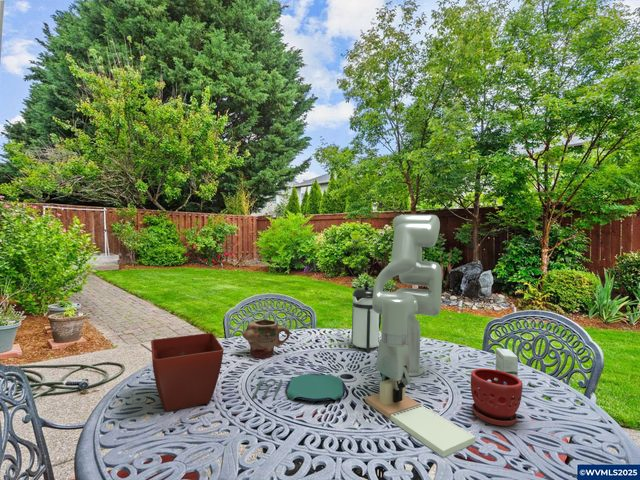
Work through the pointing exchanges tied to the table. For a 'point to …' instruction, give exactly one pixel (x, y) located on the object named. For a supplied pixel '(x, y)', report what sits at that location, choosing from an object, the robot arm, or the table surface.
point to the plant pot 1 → (186, 369)
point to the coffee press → (364, 319)
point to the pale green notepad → (433, 430)
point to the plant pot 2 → (495, 396)
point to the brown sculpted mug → (264, 337)
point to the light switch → (389, 400)
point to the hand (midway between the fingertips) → (392, 397)
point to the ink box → (506, 362)
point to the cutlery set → (310, 387)
